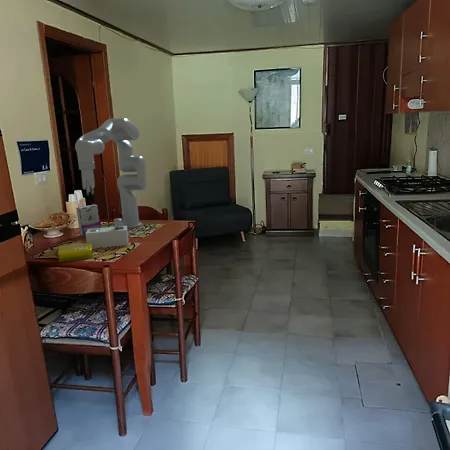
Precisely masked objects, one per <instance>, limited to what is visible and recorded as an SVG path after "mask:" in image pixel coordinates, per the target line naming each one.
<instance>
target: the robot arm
mask: <svg viewBox="0 0 450 450" xmlns="http://www.w3.org/2000/svg"><path fill="white" fill-rule="evenodd" d="M139 137H140V130H139V128H138V126H137V125H136V124H134V123H133V122H132V121H131V120H129V119H128V118H125V117H117V118H116V117H115V118H109V119H107V120H105V121H104V122H103V123H102V124H101V125H100V126H99V127H97V128H96V129H93V130H92V131H89V132H86V133H85V134H83V135H81V136H80V137H79V138H78V139H77V140H76V142H75V151H76V156H77V161H78V163H77V164H78V170H80V171H81V182H82V183H81V185H82V189H83V190H84V191H85V190H86V195H87V203H89V204H90V203H91V204H92V203H95V202H96V198H95V192H94V191H95V190H94V188H95V183H96V181H95V175H94V170H95V169H96V164H95V163H96V162H95V157H94V156H95V155H100V154H102V153H103V152H104V151H105V147H106V146H105V144H106V143H108V142H110V141H111V140H113V142H114V143H115V145H116V146H117V149H118V168H119V170H120V171H121V172H122V173H130V174H122V175H119V176H118V178H117V181H116V183H117V188H118V190H119V195H120V196H119V197H120V205H121V215H122V226H127V229H134V228H139V227H141V226H142V225H143V223H142V222H141V221H140V219H139V218H140V217H139V207H138V198H137V194H136V193H135V192H134V191H143V190H145V189H146V188H147V183H148V181H147V179H148V175H147V162H146V159H145V158H144V157H143V156H141V155H134V147H133V144H131V142H129V141H136V140H138V139H139ZM131 173H132V174H131ZM133 173H135V174H133Z"/></svg>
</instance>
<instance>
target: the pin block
mask: <svg viewBox="0 0 450 450" xmlns="http://www.w3.org/2000/svg"><path fill="white" fill-rule="evenodd" d="M92 230H99V231H96V232H91V231H92ZM128 232H129V231H128V228H127V226H123V229H119V230H115V226H109V227H108V226H107V227H101V228H95V229H88V230H87V232H86V233H85V234H86V236H85V241H86V242H85V243H87V242H90V243H91V245H92V249H100V247H102V248H110V247H111V246H113V247H121V246H122V247H123V246H128V245H129V233H128ZM111 248H112V247H111Z"/></svg>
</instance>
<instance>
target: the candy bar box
mask: <svg viewBox="0 0 450 450" xmlns="http://www.w3.org/2000/svg"><path fill="white" fill-rule="evenodd" d="M75 210H76V216H77V221H78V230H79V235H80V236H82V237H86V234H85V233H86V232H87V230H88V229H95V228H102V226H101V222H100V220H101V219H100V212H99V206H98V205H97V204H91V205H84V206H79V207H76V209H75Z"/></svg>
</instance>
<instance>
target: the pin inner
mask: <svg viewBox="0 0 450 450" xmlns="http://www.w3.org/2000/svg"><path fill="white" fill-rule="evenodd" d="M113 224H114V226H113V227H115V230H119V229H123V226H122V224H123V217H122V218H120V217H117V218H113Z"/></svg>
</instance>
